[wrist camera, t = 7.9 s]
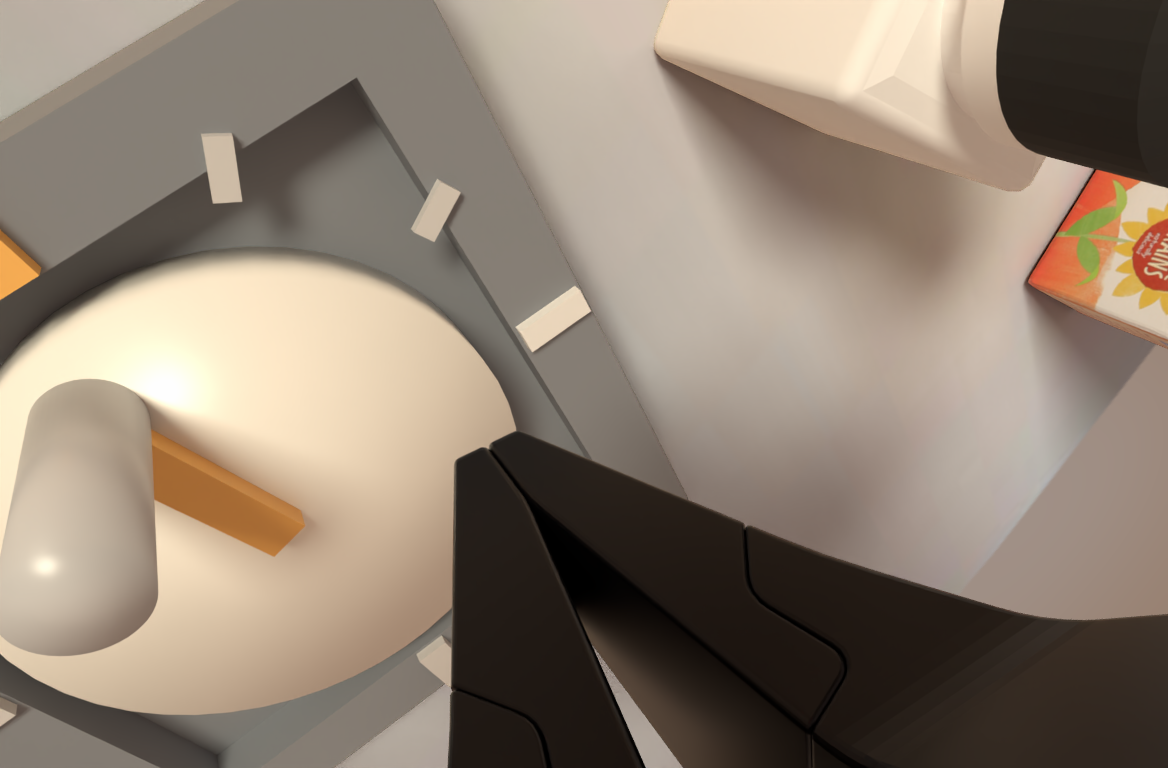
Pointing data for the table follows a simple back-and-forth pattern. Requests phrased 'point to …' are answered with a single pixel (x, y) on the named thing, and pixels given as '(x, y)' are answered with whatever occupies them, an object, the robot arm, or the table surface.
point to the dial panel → (309, 222)
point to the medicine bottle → (948, 77)
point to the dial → (232, 479)
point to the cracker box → (1113, 257)
